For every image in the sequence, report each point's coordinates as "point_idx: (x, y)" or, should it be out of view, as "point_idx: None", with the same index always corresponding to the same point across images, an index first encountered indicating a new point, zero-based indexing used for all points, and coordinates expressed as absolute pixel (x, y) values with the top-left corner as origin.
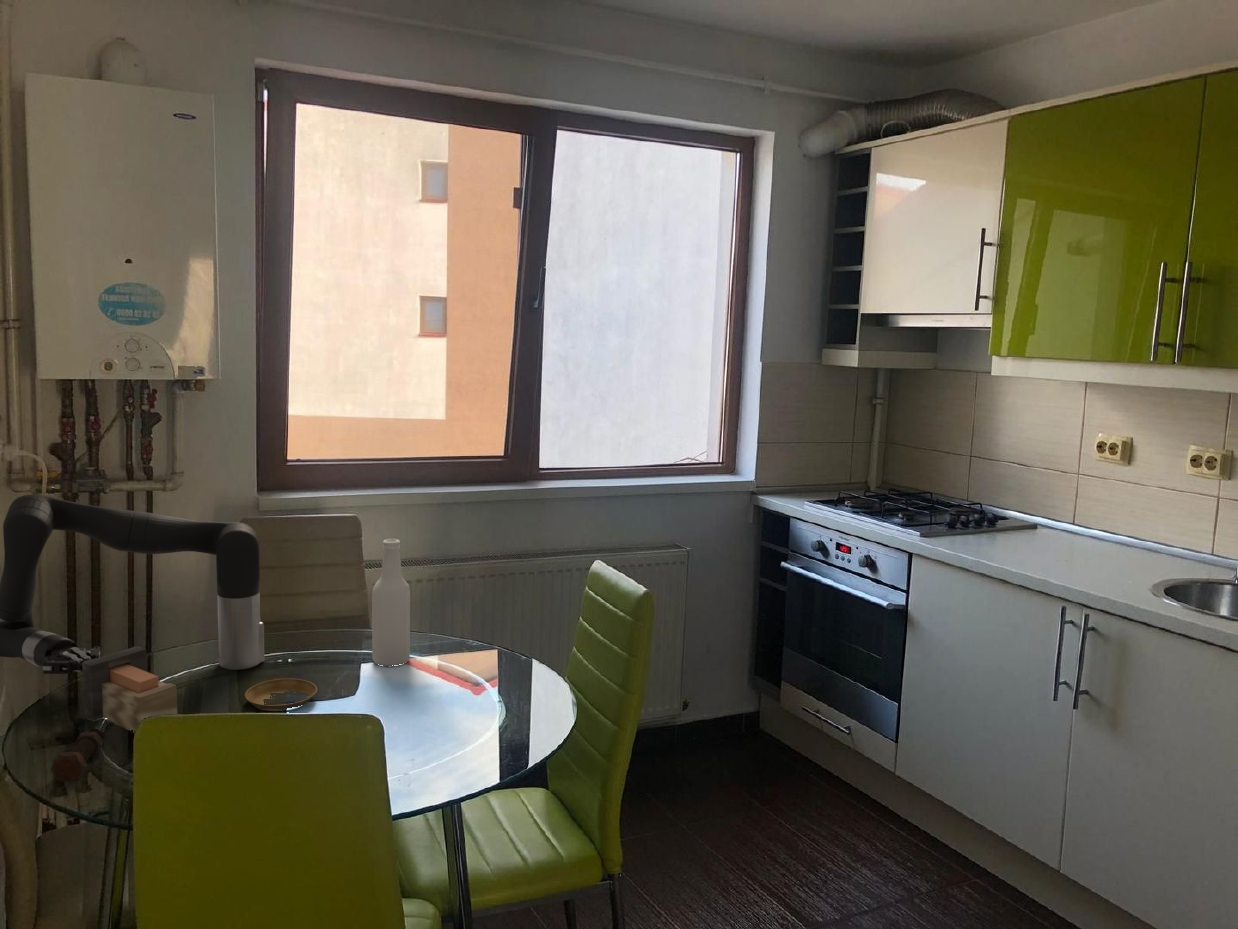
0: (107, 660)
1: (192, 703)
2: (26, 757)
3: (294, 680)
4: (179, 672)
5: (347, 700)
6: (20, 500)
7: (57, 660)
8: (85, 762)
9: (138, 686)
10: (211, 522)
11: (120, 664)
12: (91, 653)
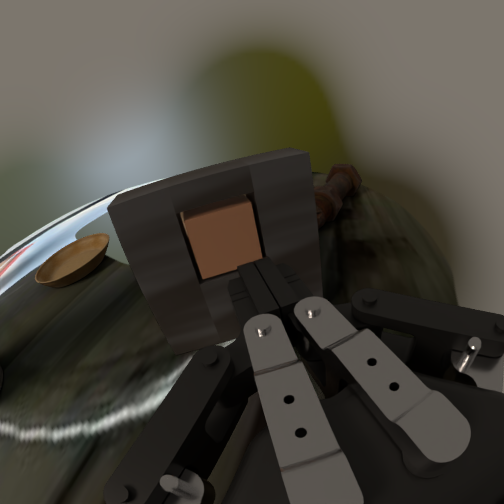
0: (239, 158)
1: (127, 298)
2: (405, 225)
3: (37, 277)
4: (30, 440)
5: None
6: None
7: (451, 381)
8: (327, 177)
9: None
10: None
11: (197, 209)
12: (212, 392)
